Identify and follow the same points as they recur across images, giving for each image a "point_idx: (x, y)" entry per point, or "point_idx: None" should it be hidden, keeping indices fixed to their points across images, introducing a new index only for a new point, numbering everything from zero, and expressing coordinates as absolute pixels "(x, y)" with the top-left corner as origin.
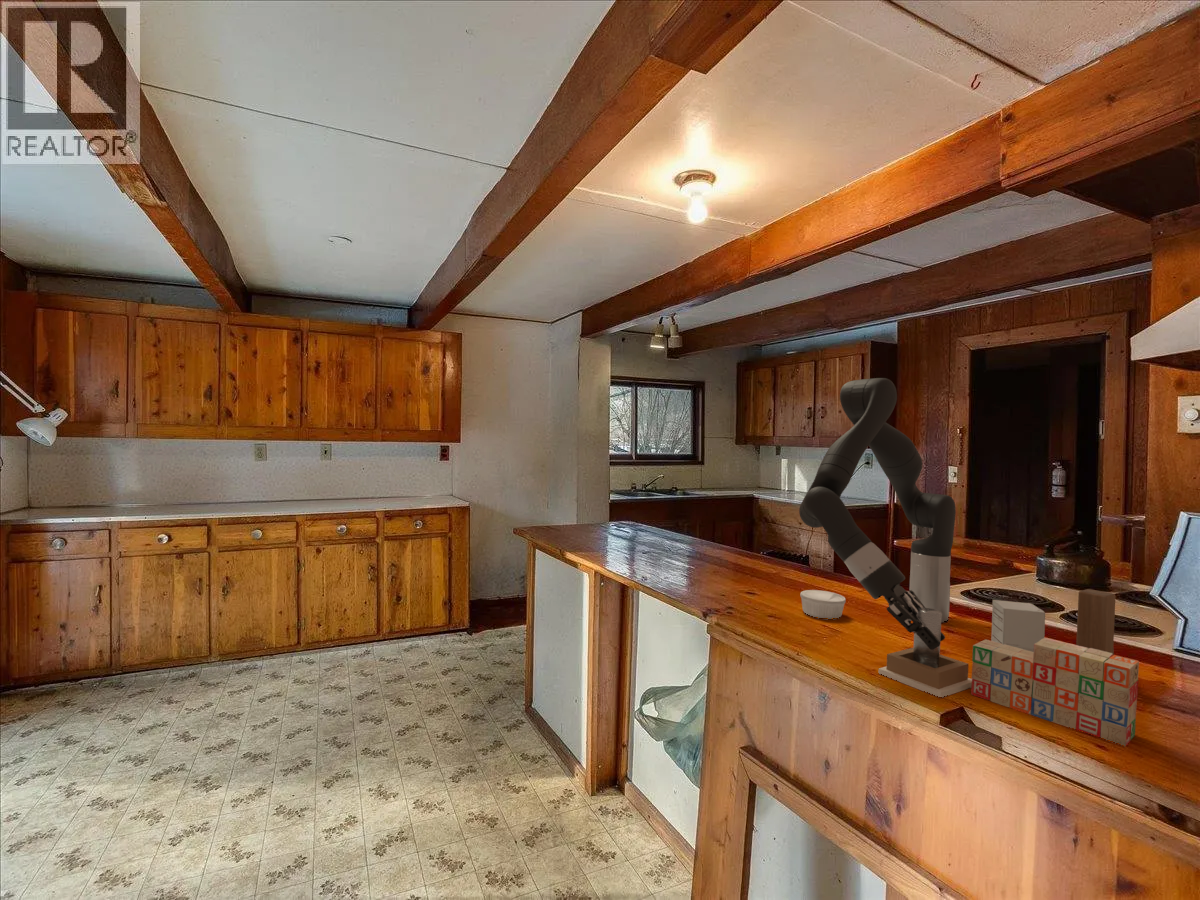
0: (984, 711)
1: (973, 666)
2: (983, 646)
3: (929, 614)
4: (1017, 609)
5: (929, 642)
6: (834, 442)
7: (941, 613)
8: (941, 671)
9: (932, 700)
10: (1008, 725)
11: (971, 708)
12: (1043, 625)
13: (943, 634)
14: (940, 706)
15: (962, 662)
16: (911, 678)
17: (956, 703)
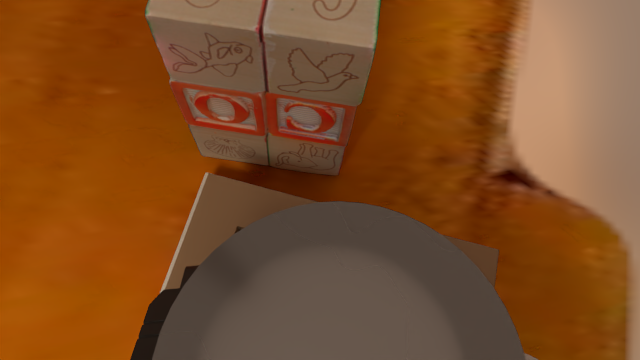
0: (469, 114)
1: (355, 112)
2: (339, 1)
3: (507, 318)
4: None
5: None
6: None
7: (325, 202)
8: (467, 246)
9: (542, 273)
10: (519, 46)
11: (483, 149)
12: None
13: (186, 274)
14: (572, 234)
15: (210, 199)
16: None
17: (484, 197)
